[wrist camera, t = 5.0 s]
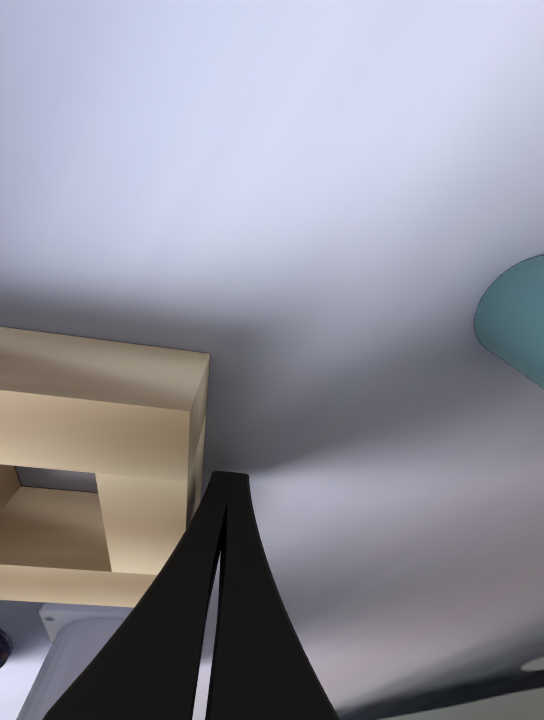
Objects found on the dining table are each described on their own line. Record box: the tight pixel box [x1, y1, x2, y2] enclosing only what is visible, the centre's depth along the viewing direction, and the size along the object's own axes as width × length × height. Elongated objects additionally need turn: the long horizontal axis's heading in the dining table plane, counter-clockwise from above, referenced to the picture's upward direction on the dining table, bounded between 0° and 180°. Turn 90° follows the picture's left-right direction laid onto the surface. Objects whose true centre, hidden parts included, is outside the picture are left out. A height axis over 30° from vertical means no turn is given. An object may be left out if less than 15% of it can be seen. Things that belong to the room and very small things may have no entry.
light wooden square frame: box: [0, 327, 210, 607], centre depth 11 cm, size 10×10×3 cm
